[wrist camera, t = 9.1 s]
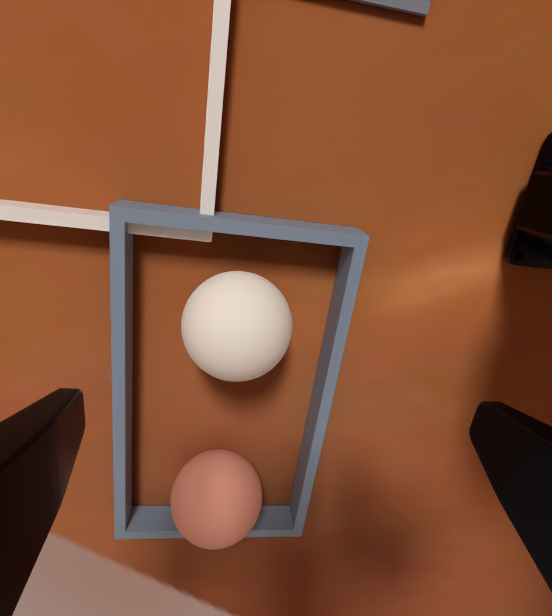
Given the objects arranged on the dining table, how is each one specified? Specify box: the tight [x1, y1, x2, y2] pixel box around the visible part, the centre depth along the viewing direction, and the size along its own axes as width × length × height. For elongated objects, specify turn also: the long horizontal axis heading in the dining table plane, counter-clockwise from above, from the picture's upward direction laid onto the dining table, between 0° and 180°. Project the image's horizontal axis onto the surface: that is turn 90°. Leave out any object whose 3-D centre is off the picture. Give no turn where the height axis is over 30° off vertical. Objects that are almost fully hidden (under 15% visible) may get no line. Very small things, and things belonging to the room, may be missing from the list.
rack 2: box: [109, 199, 370, 539], centre depth 22 cm, size 11×19×2 cm, turn 172°
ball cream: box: [181, 271, 292, 382], centre depth 18 cm, size 5×5×5 cm
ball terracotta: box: [170, 449, 262, 550], centre depth 22 cm, size 5×5×5 cm
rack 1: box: [0, 0, 231, 242], centre depth 15 cm, size 13×13×1 cm
